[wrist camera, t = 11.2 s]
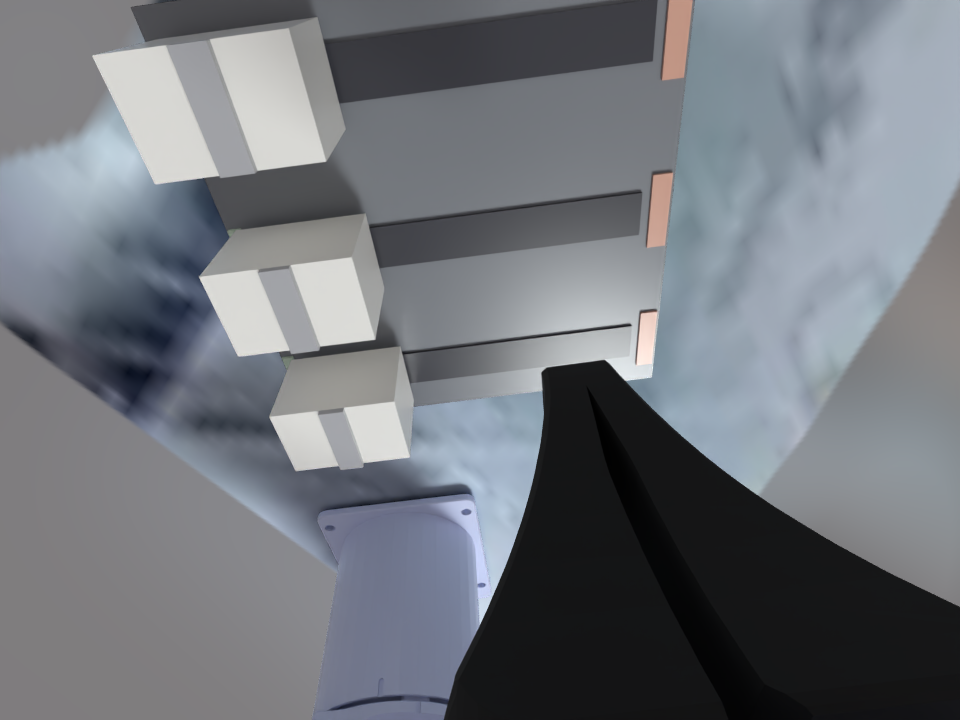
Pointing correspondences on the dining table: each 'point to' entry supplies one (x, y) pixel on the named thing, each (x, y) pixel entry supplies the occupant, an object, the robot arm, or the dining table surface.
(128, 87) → the block
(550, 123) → the panel
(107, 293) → the dining table surface
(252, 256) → the block
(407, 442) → the block
